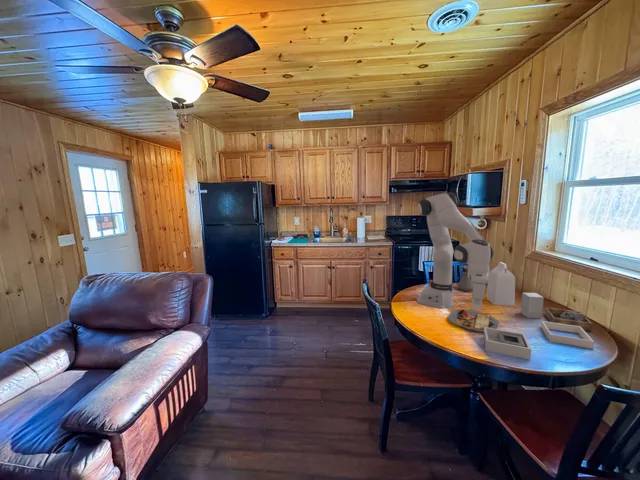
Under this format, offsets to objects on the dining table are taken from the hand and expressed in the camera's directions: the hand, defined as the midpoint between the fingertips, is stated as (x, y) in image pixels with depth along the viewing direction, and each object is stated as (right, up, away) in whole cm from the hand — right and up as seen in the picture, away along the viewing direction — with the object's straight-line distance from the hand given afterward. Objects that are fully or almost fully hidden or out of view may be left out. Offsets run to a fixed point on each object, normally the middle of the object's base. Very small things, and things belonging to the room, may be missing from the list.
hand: (476, 301), depth 126 cm
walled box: (+10, -20, -5) cm, 23 cm away
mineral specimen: (+60, -15, +15) cm, 63 cm away
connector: (0, -3, 0) cm, 3 cm away
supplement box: (+47, -14, +25) cm, 55 cm away
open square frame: (+44, -18, +2) cm, 48 cm away
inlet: (+12, -20, -6) cm, 24 cm away
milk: (+43, -11, +46) cm, 64 cm away
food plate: (+10, -17, +20) cm, 28 cm away
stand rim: (+59, -15, +16) cm, 63 cm away
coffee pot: (+38, -8, +67) cm, 78 cm away
